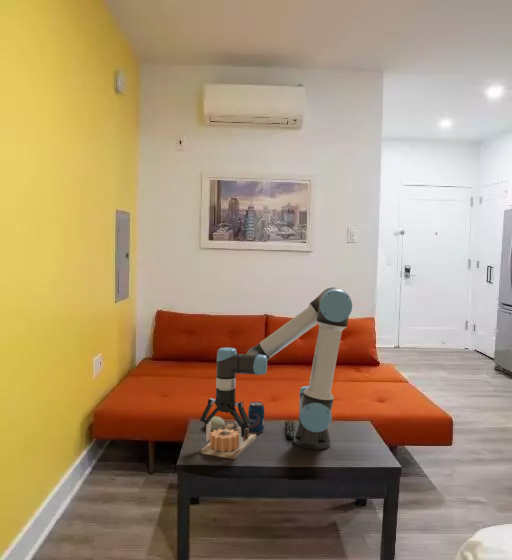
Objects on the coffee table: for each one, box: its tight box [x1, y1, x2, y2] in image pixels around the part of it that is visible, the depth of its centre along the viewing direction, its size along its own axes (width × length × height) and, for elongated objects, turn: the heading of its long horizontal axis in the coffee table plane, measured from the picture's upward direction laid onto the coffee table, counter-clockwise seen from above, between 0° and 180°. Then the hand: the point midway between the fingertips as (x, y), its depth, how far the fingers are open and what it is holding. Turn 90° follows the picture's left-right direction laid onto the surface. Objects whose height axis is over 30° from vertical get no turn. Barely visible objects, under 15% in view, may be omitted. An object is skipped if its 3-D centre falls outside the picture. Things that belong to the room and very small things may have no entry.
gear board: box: [200, 421, 257, 460], centre depth 197 cm, size 14×24×8 cm, turn 161°
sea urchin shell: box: [209, 415, 226, 432], centre depth 217 cm, size 9×8×8 cm
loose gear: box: [209, 429, 239, 452], centre depth 192 cm, size 11×11×5 cm
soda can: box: [247, 401, 265, 434], centre depth 215 cm, size 7×7×12 cm
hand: (224, 442), depth 192 cm, fingers open, 13 cm apart
